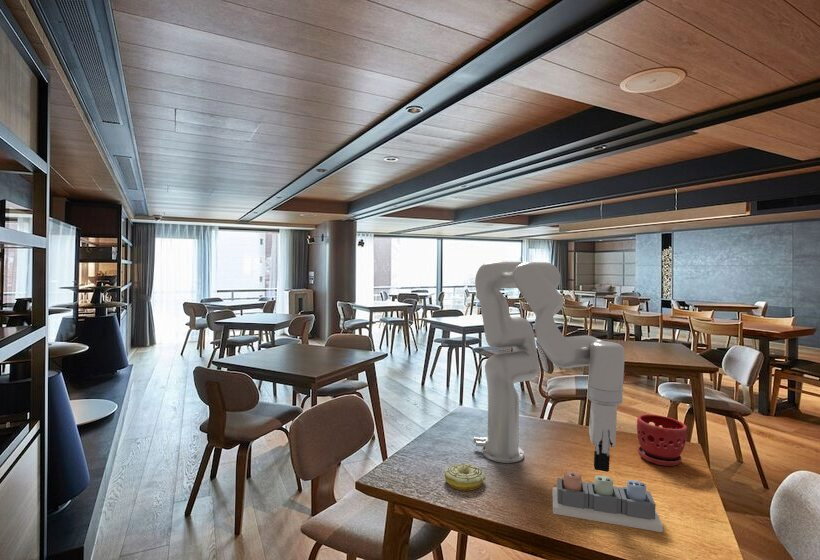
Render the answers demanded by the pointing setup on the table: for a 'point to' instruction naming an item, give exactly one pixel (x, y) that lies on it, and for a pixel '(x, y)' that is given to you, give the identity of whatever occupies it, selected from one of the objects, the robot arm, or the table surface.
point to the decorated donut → (464, 476)
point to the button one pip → (572, 481)
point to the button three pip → (636, 490)
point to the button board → (606, 506)
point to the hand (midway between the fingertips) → (601, 469)
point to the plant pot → (661, 439)
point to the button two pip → (603, 486)
